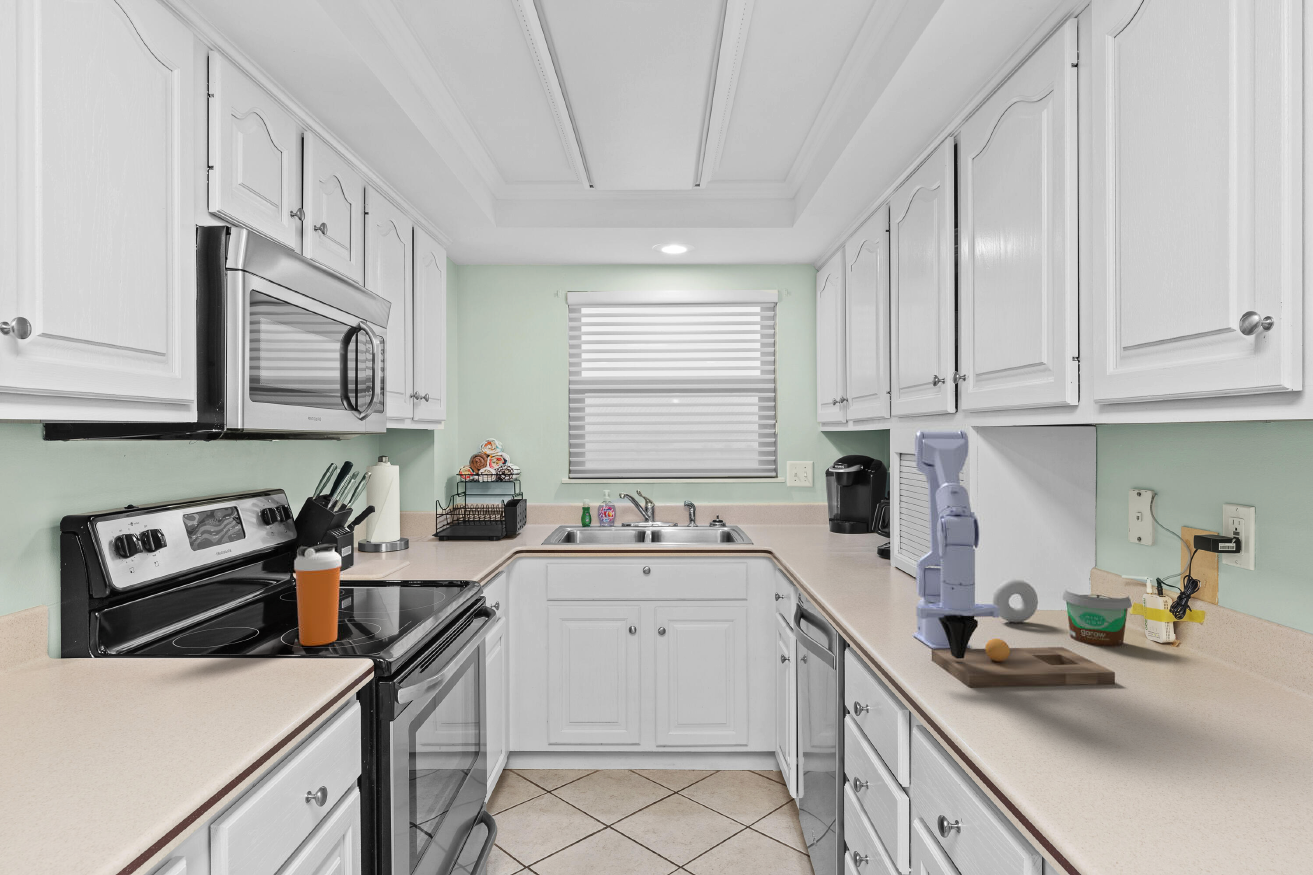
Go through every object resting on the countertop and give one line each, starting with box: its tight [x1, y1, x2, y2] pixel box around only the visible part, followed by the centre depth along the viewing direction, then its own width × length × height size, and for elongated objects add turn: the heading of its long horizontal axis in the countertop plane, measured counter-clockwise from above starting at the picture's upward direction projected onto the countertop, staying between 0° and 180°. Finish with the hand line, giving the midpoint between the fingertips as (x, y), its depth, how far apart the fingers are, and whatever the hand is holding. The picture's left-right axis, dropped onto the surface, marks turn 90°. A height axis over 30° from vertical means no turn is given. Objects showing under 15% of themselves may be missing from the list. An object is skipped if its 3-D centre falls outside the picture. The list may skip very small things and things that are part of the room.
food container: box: [1062, 589, 1133, 648], centre depth 141 cm, size 12×6×10 cm, turn 62°
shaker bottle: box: [293, 543, 342, 647], centre depth 144 cm, size 9×9×20 cm
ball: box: [984, 638, 1010, 661], centre depth 124 cm, size 4×4×4 cm
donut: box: [992, 578, 1039, 624], centre depth 156 cm, size 10×4×10 cm, turn 89°
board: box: [931, 646, 1116, 688], centre depth 125 cm, size 14×26×2 cm, turn 93°
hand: (957, 656), depth 124 cm, fingers closed
